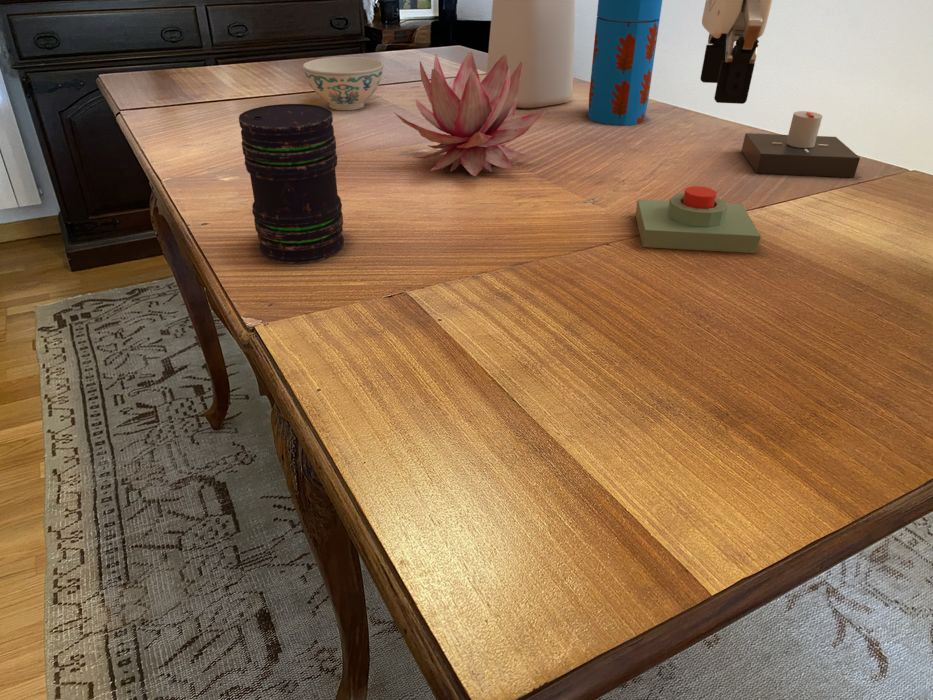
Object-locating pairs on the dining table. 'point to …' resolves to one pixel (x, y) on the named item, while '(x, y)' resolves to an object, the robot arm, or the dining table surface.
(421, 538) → the dining table surface
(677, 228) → the switch block
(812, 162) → the dial base
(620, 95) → the thermos
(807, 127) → the temp dial
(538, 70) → the plastic bottle
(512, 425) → the dining table surface
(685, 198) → the power button
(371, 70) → the chinaware
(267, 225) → the dark brown cylinder
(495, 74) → the decorative flower
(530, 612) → the dining table surface
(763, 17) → the robot arm
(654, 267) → the dining table surface
